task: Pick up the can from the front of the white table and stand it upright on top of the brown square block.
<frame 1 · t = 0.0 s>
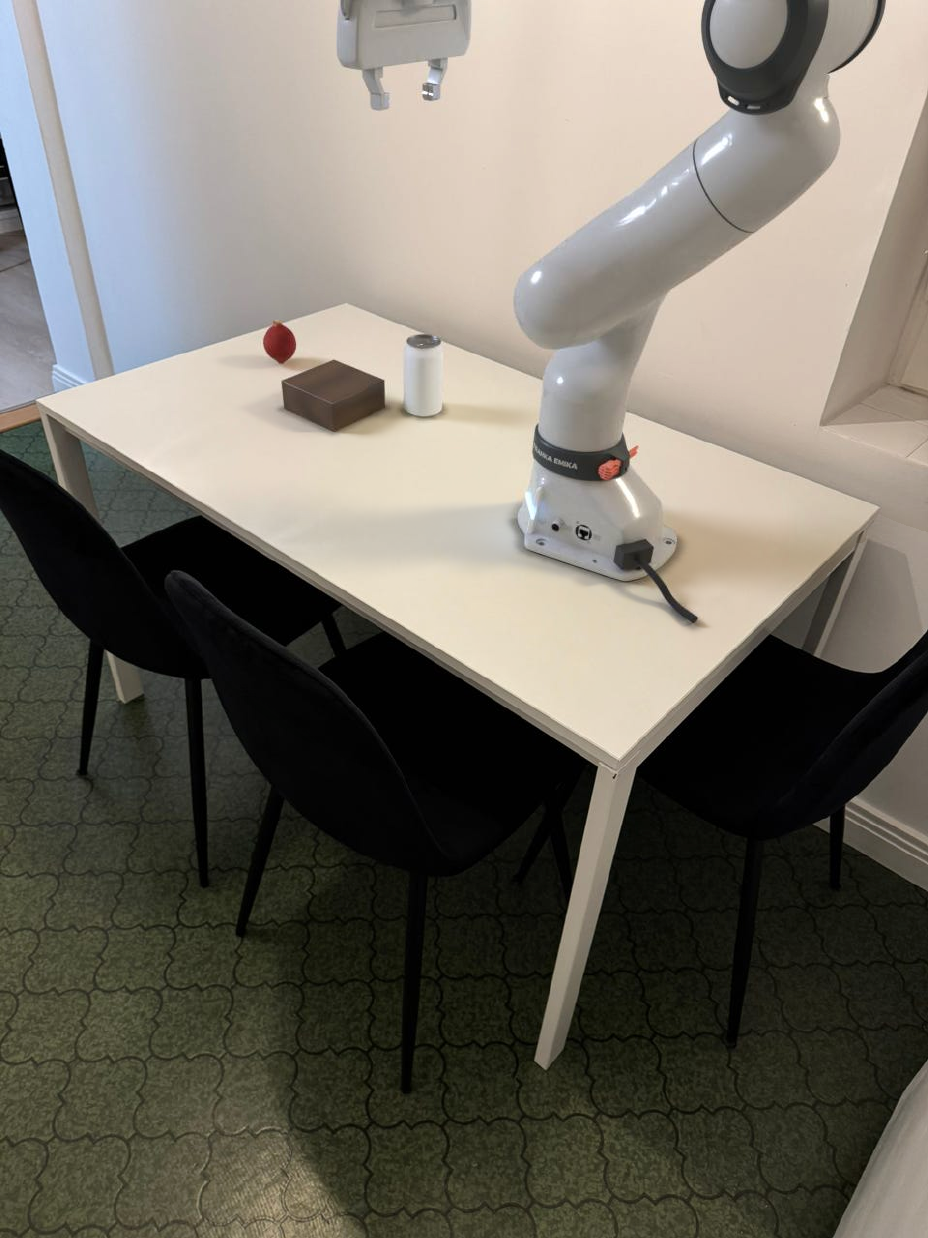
hand: (406, 104, 112), 48 cm above the table, tool pointing down, fingers open, 8 cm apart
onion: (281, 363, 166), on the table
brown square block: (334, 408, 152), on the table
can: (423, 410, 153), on the table
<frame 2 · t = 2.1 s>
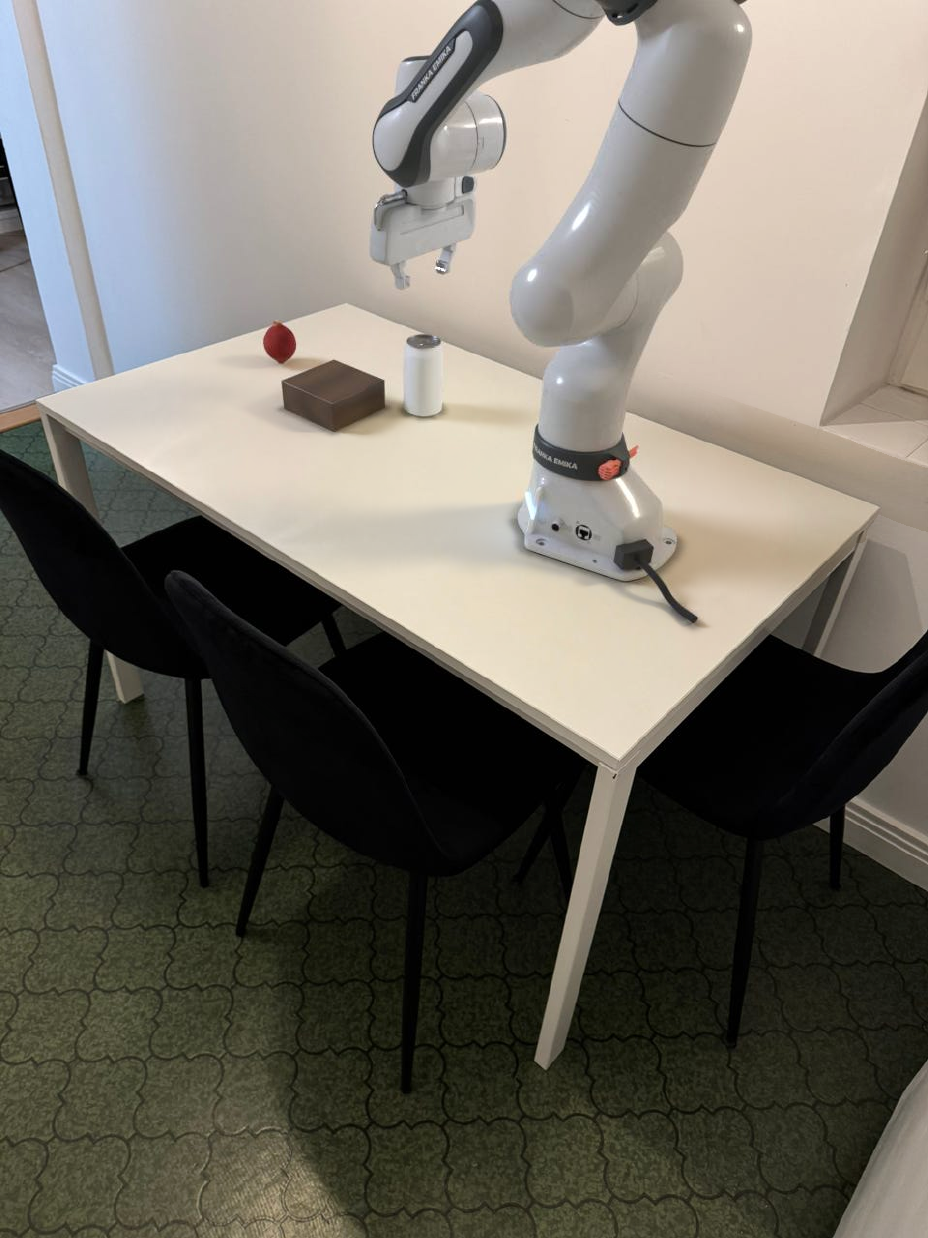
hand: (423, 280, 139), 22 cm above the table, tool pointing down, fingers open, 8 cm apart
nothing on the table moved.
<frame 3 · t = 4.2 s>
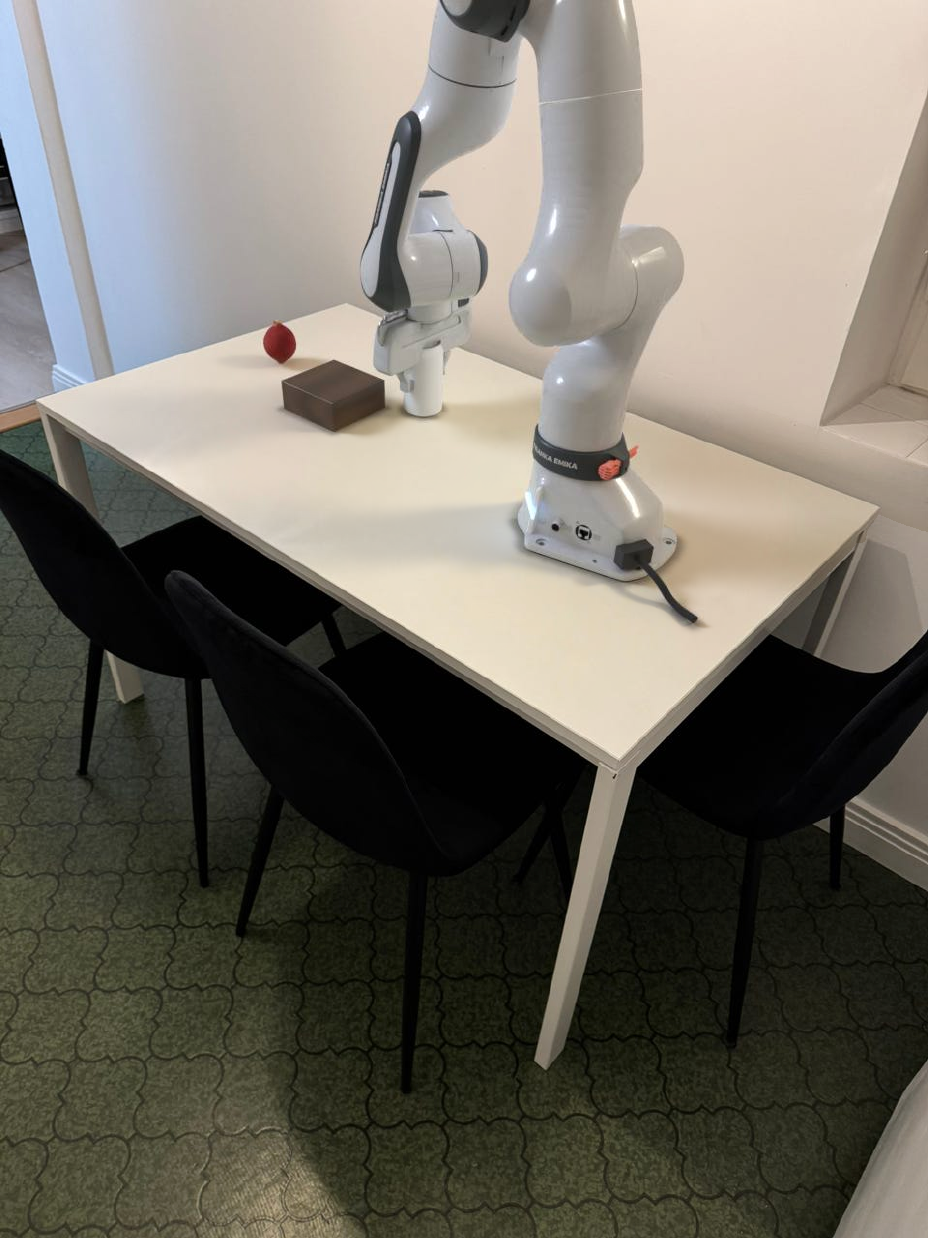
hand: (422, 382, 150), 5 cm above the table, tool pointing down, fingers closed on can, 6 cm apart
can: (422, 410, 153), on the table, touching gripper
everything else where it was.
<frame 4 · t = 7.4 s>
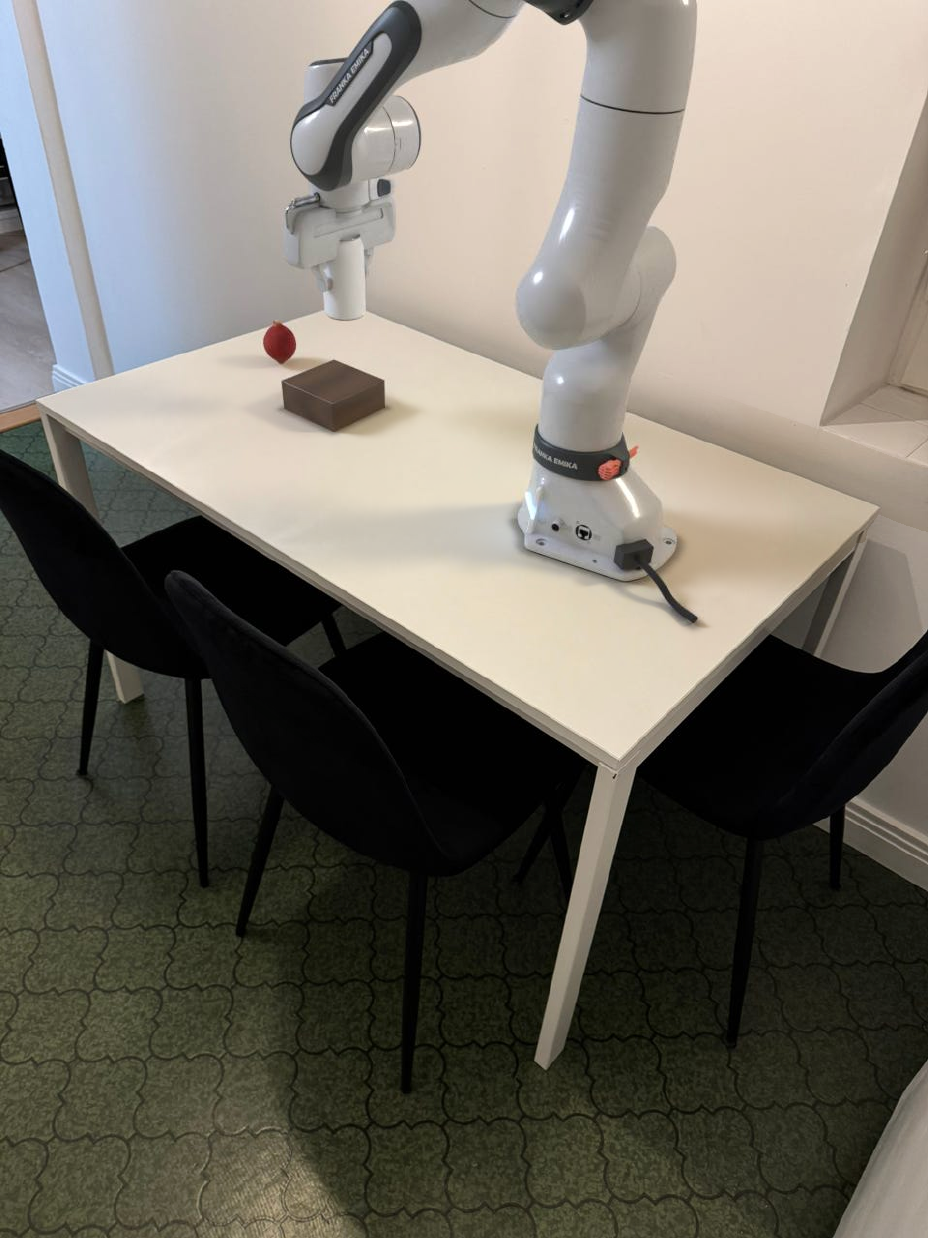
hand: (343, 283, 139), 21 cm above the table, tool pointing down, fingers closed on can, 6 cm apart
can: (345, 315, 142), point 16 cm above the table, touching gripper
everything else where it was.
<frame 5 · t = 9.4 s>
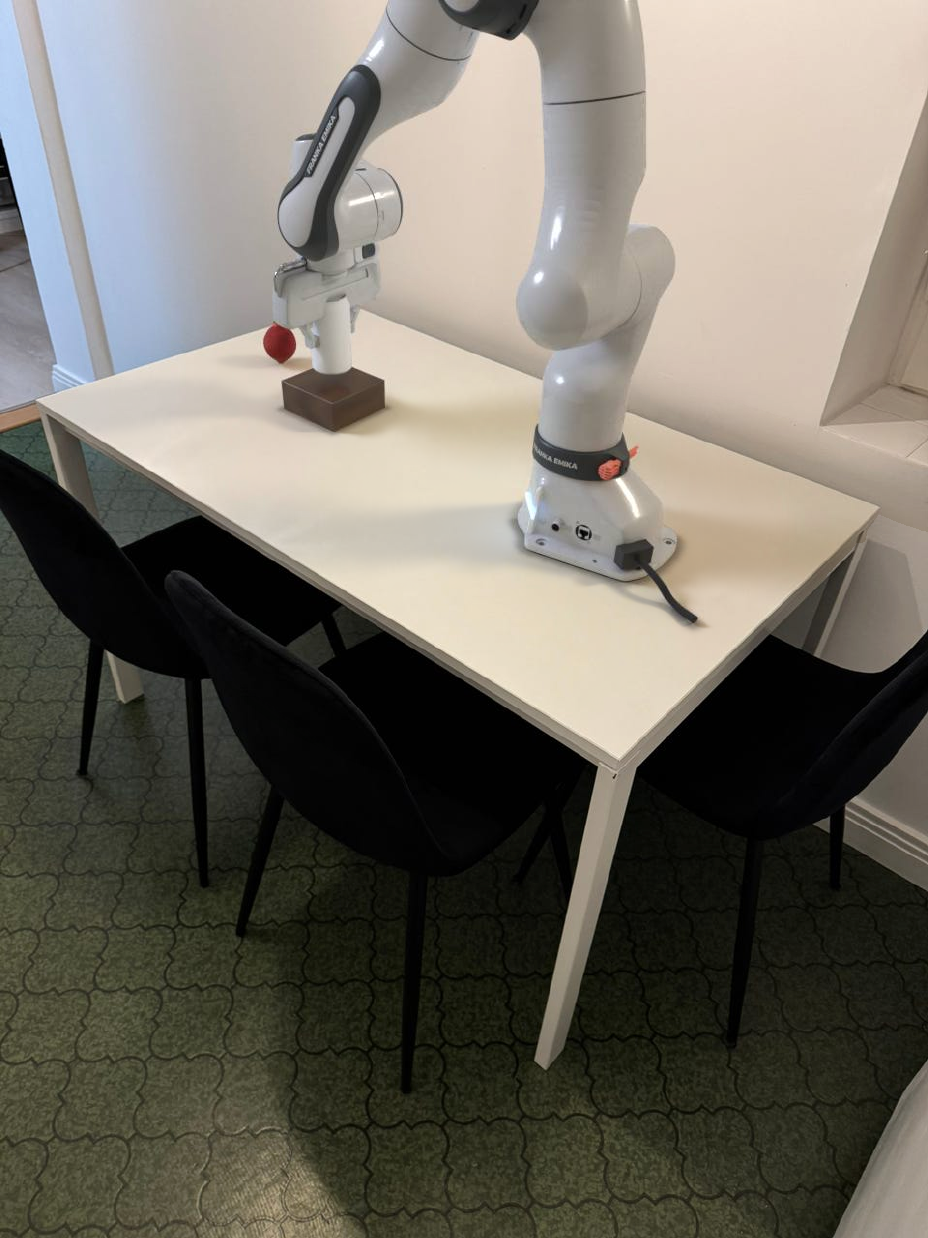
hand: (330, 339, 145), 12 cm above the table, tool pointing down, fingers closed on can, 6 cm apart
can: (332, 368, 148), point 7 cm above the table, touching gripper
everything else where it was.
when the fingers open (10 cm above the table, at t = 10.6 s): can stays where it is, resting on brown square block.
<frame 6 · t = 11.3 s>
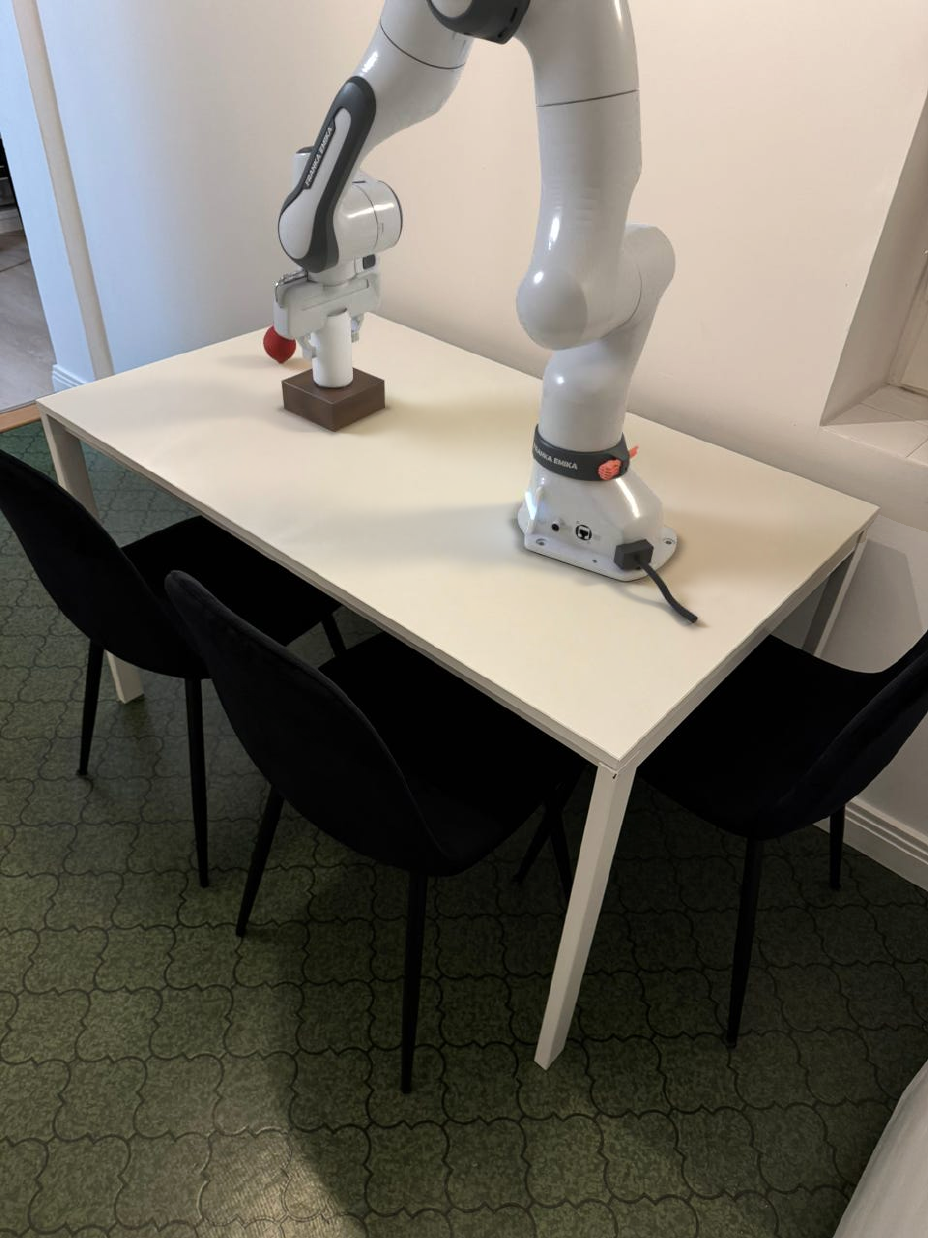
hand: (331, 349, 146), 10 cm above the table, tool pointing down, fingers open, 8 cm apart
can: (333, 381, 149), point 5 cm above the table, touching brown square block
everything else where it was.
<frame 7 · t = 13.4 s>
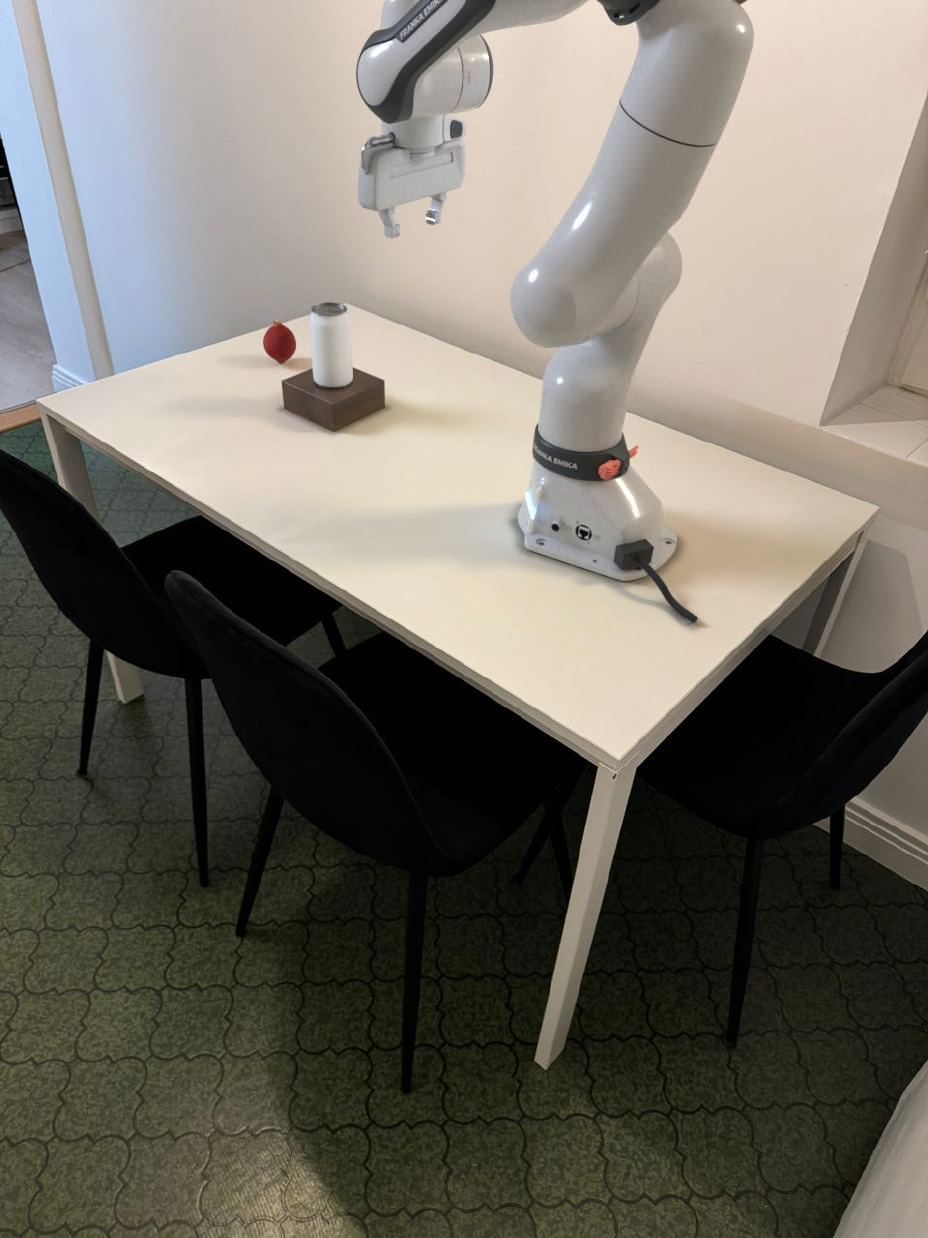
hand: (413, 229, 137), 28 cm above the table, tool pointing down, fingers open, 8 cm apart
nothing on the table moved.
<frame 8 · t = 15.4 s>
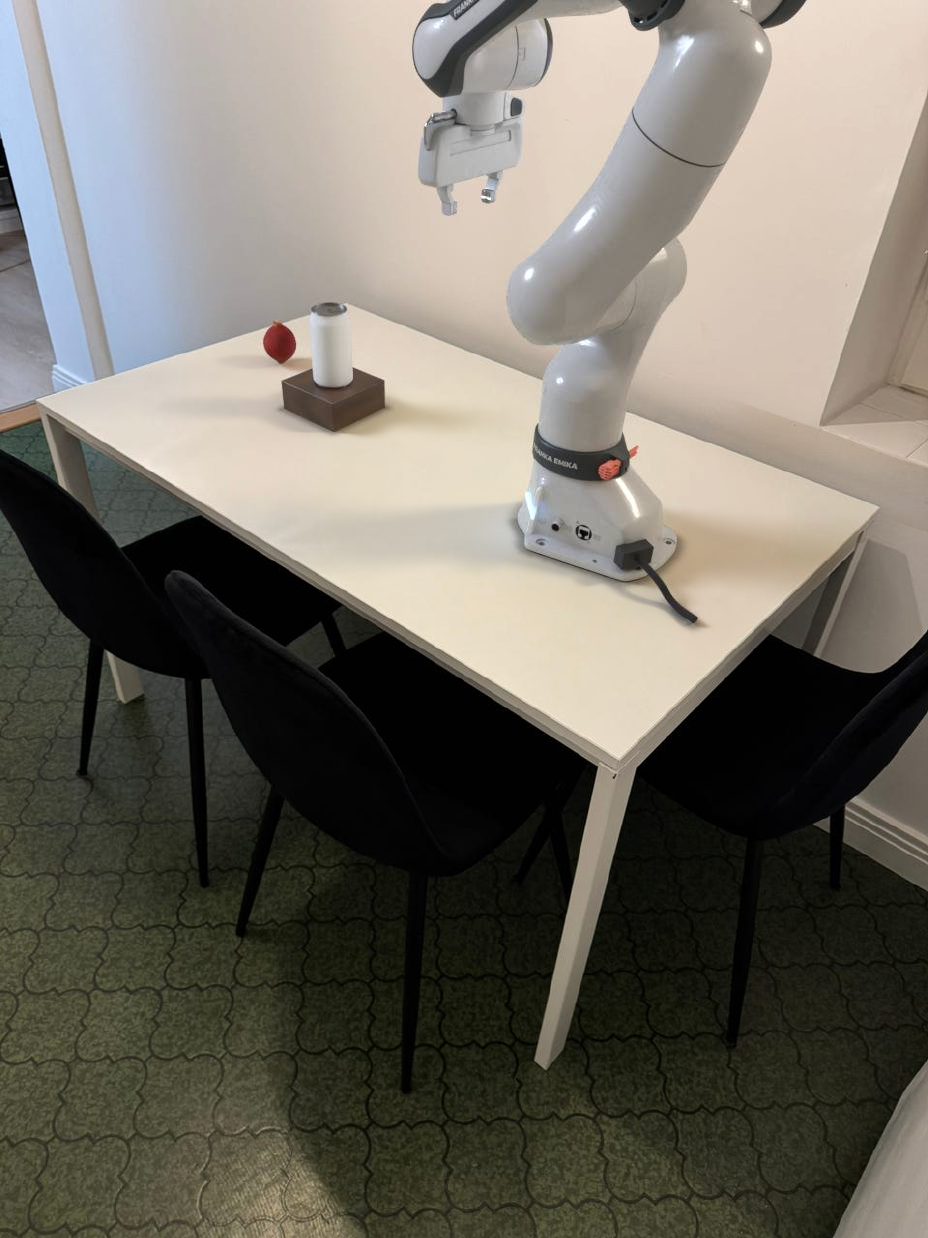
hand: (469, 208, 138), 31 cm above the table, tool pointing down, fingers open, 8 cm apart
nothing on the table moved.
at the end: can inside the target area on the brown square block (0.1 cm from its centre), point 4.8 cm above the brown square block's base; can tilted 0°; can touching brown square block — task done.
